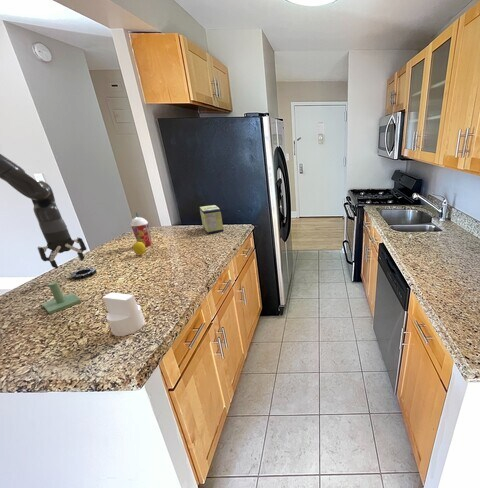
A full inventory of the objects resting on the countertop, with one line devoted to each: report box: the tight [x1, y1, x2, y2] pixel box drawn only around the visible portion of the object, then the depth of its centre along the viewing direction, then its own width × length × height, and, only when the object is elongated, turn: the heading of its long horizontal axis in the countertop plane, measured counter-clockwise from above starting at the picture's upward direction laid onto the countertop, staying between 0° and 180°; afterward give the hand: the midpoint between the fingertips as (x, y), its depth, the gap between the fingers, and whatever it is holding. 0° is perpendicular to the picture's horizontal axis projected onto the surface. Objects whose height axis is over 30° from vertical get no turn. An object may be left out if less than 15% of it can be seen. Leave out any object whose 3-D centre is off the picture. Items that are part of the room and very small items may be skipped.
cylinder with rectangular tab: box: [102, 292, 146, 337], centre depth 84 cm, size 9×9×12 cm
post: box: [41, 281, 82, 315], centre depth 97 cm, size 9×9×9 cm
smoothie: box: [129, 212, 153, 248], centre depth 149 cm, size 8×8×20 cm
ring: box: [69, 267, 97, 281], centre depth 119 cm, size 8×8×2 cm
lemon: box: [132, 240, 147, 256], centre depth 139 cm, size 6×6×8 cm
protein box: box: [198, 204, 225, 235], centre depth 176 cm, size 10×16×16 cm
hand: (69, 264), depth 115 cm, fingers open, 8 cm apart
